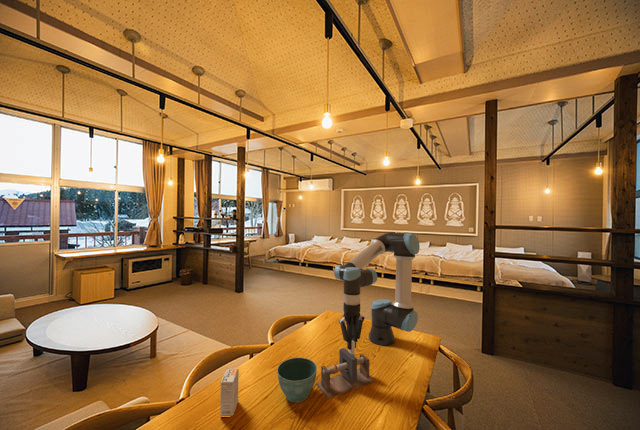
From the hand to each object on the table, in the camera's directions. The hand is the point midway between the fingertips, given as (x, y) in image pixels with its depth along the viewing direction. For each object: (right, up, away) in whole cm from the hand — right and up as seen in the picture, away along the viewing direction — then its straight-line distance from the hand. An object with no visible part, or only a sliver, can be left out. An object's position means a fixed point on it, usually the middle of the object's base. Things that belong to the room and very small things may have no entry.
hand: (351, 355), depth 112 cm
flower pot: (-24, -11, -9) cm, 28 cm away
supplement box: (-48, -11, -18) cm, 53 cm away
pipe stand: (-3, -11, -2) cm, 12 cm away
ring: (-2, -9, -1) cm, 9 cm away
